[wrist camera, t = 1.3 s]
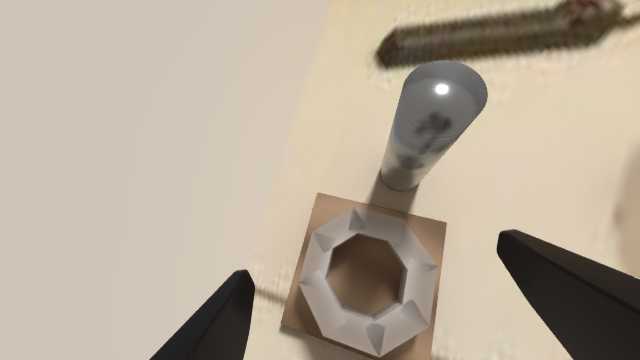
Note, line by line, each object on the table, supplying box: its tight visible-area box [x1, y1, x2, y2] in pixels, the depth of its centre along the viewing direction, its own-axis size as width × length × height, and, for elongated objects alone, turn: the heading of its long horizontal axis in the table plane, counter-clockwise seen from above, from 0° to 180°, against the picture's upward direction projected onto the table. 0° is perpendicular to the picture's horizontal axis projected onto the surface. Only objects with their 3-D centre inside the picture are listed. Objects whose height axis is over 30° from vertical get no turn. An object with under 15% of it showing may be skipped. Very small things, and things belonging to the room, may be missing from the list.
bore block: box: [281, 193, 447, 360], centre depth 19 cm, size 12×12×3 cm
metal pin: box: [380, 61, 488, 191], centre depth 17 cm, size 4×4×12 cm
